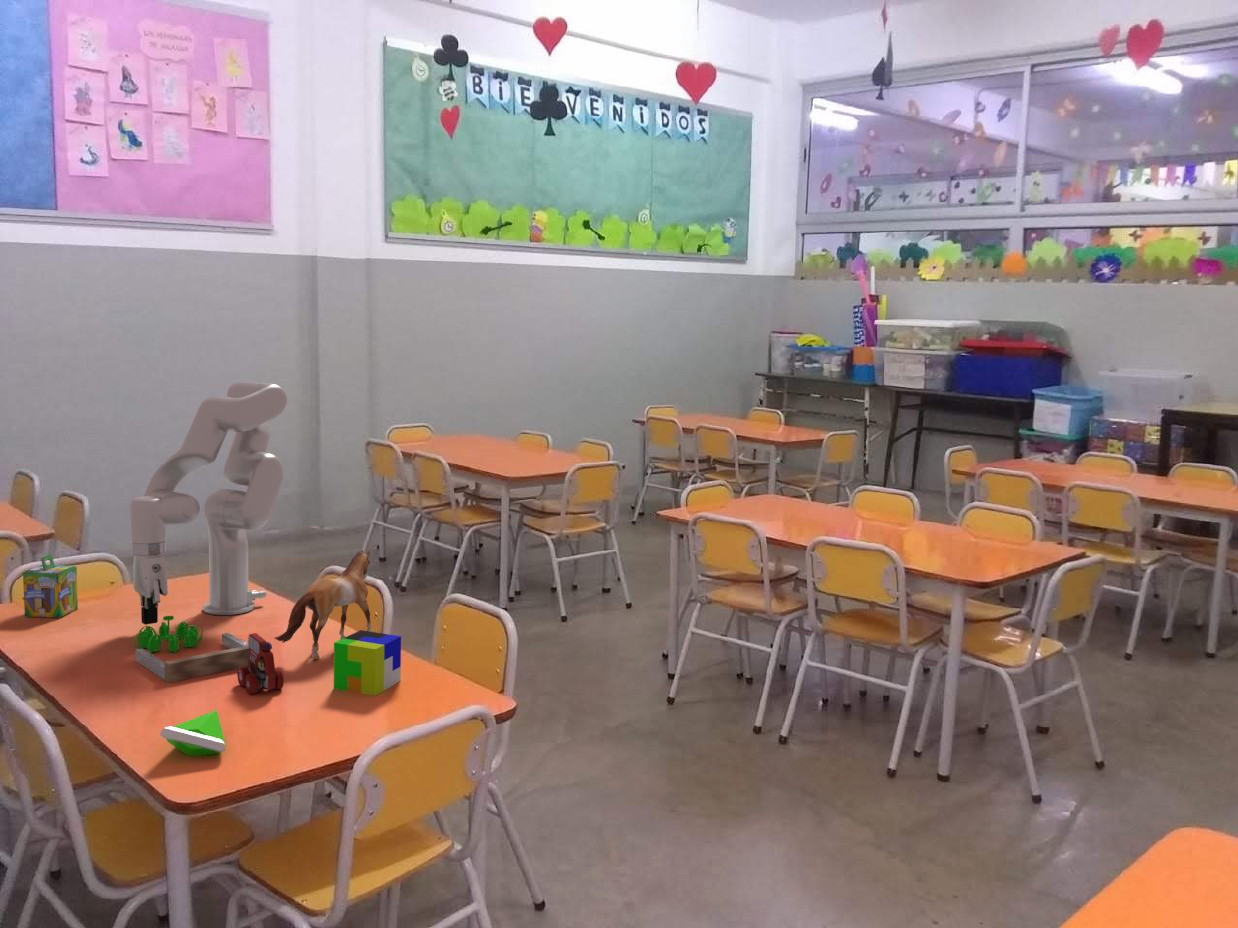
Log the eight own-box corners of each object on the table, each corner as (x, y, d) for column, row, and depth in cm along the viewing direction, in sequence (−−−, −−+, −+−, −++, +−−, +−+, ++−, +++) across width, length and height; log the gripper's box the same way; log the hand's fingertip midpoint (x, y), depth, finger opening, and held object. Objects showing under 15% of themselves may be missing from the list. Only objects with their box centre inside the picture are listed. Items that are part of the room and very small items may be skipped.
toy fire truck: (253, 699, 212) (253, 650, 210) (234, 681, 221) (234, 633, 220) (287, 693, 216) (287, 644, 215) (267, 676, 226) (267, 629, 224)
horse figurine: (362, 628, 262) (363, 548, 259) (388, 633, 259) (389, 552, 256) (273, 662, 234) (273, 572, 231) (300, 668, 231) (300, 577, 228)
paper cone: (181, 720, 205) (152, 752, 180) (190, 693, 205) (163, 722, 181) (239, 735, 207) (218, 769, 182) (248, 708, 207) (228, 739, 183)
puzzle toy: (400, 681, 226) (401, 636, 225) (375, 696, 217) (375, 649, 215) (360, 674, 229) (360, 630, 228) (333, 688, 220) (333, 642, 218)
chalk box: (59, 619, 260) (58, 560, 258) (23, 617, 260) (21, 559, 258) (79, 609, 269) (78, 552, 267) (44, 607, 269) (42, 550, 267)
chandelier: (159, 633, 252) (159, 605, 251) (216, 639, 249) (216, 611, 248) (118, 652, 237) (118, 622, 237) (178, 659, 235) (178, 629, 234)
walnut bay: (228, 643, 246) (228, 626, 246) (263, 662, 234) (263, 645, 233) (135, 660, 232) (135, 643, 231) (168, 682, 219) (168, 664, 218)
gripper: (176, 552, 247) (177, 627, 250) (152, 541, 258) (153, 613, 260) (143, 556, 242) (145, 633, 244) (120, 544, 253) (122, 618, 255)
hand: (149, 622), depth 252 cm, fingers closed
